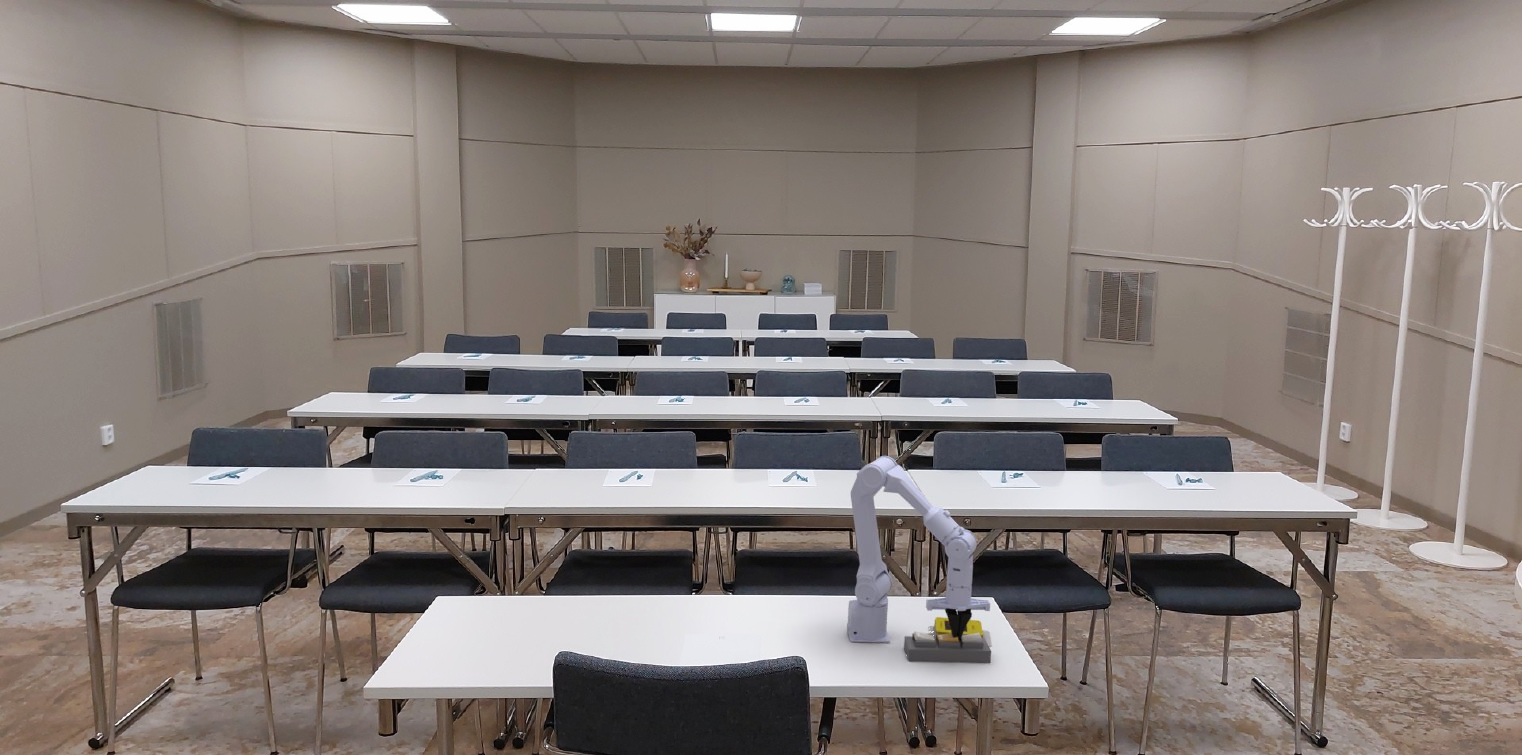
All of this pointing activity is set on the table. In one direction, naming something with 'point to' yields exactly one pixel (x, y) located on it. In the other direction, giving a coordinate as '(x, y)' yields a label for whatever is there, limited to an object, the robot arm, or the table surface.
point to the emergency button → (972, 627)
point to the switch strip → (946, 651)
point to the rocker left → (923, 637)
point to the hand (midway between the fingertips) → (956, 638)
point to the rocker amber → (947, 637)
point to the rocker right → (971, 638)
